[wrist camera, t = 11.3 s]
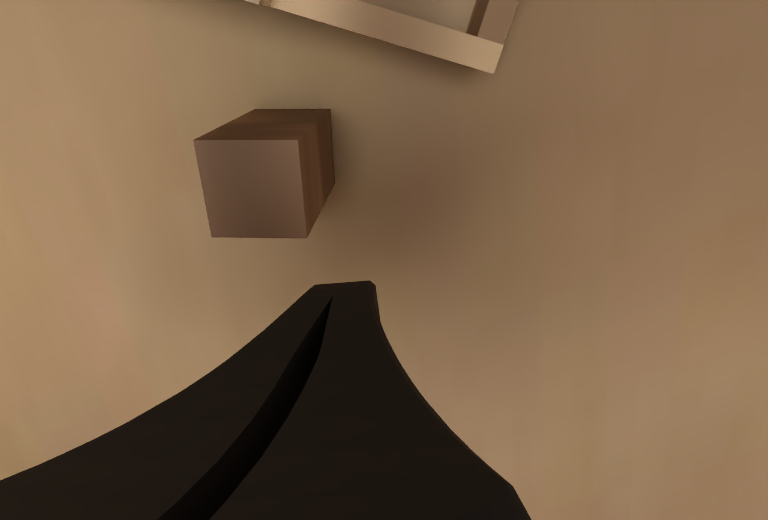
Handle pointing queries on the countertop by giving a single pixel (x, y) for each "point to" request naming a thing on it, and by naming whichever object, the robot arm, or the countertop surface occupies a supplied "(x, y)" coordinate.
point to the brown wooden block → (267, 173)
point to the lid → (260, 2)
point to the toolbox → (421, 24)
